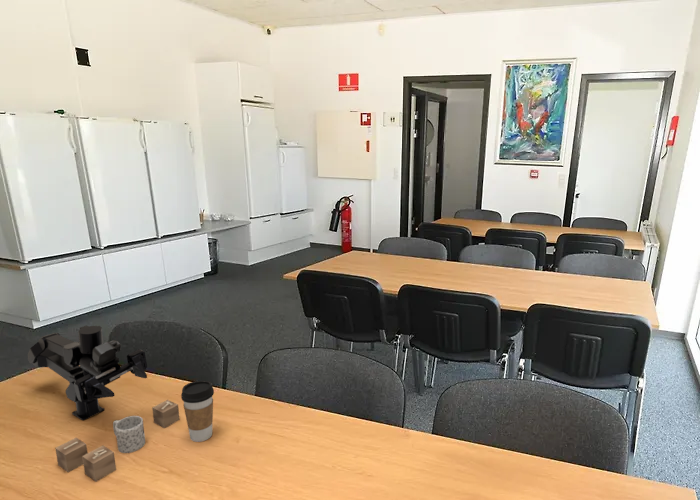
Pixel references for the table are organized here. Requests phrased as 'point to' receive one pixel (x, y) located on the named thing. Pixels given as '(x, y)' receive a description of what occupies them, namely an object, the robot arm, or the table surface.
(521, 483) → the table surface
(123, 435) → the mug
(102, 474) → the walnut block four
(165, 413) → the brown and beige block
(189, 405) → the coffee cup
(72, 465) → the walnut block one
